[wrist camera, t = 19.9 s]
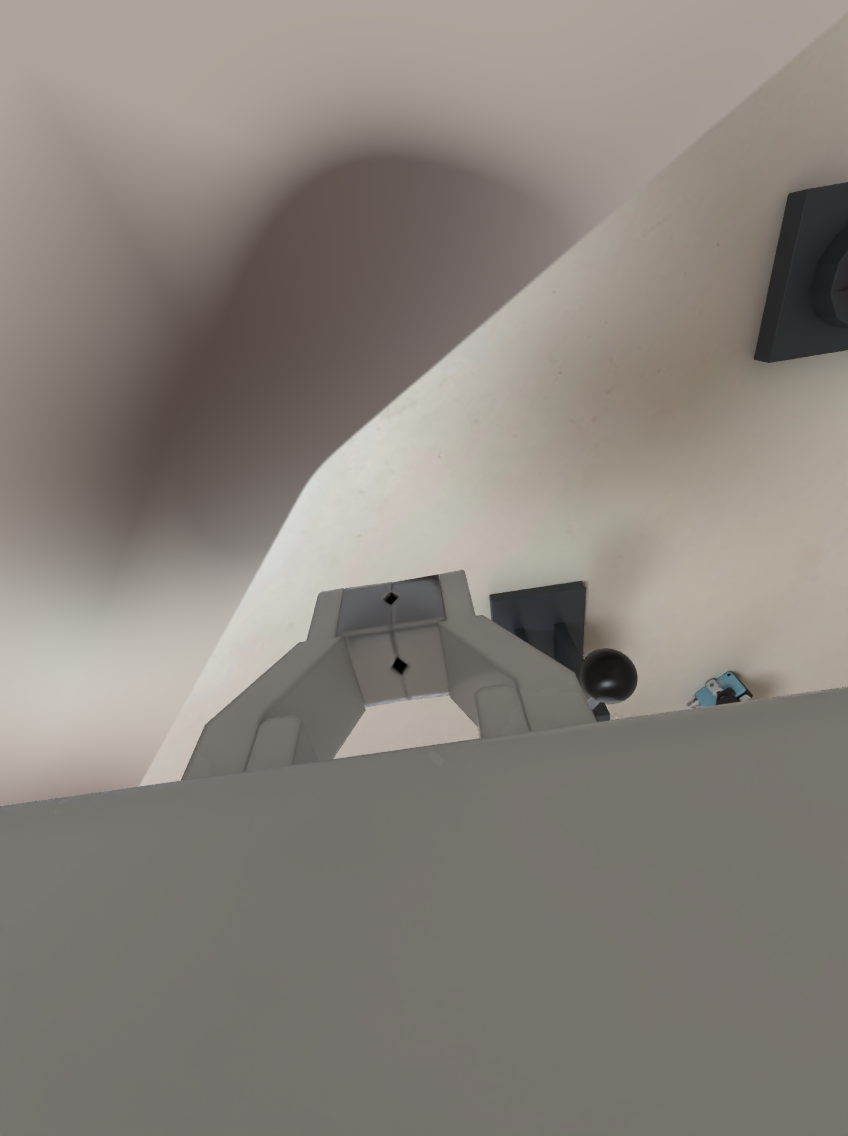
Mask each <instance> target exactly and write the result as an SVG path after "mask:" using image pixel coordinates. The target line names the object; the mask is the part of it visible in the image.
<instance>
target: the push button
mask: <svg viewBox="0 0 848 1136" xmlns="http://www.w3.org/2000/svg"><path fill="white" fill-rule="evenodd" d="M695 696H696V698H697V699H698V700H696V701H695V702H694V703H693V704H691V705H690V706H688V707H687V708H688V709H693V708H696V707H698V706H701V705H702V706H701V707H707V706H714V705H721V704H728V703H735V702H742V701H749V700H752V699H751V698H752V697H753V695H752V694H751V692H750V691H749V690H748V689H747V688H746V687H745V686H744V684H743V683H742V682H741V681H740V680H739V679H738V678H737V677H736V676H734V675H733V674H732V673H731V672H727V673H725V674H724V675H723V676H721V677H720V678H718V679H716V680H710V681H709V682H707V683H706V687H704V688H703V689H701V690H700V691H698V692H697V693H696V694H695ZM691 706H694V707H693V708H691ZM699 708H700V707H699Z"/></svg>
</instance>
